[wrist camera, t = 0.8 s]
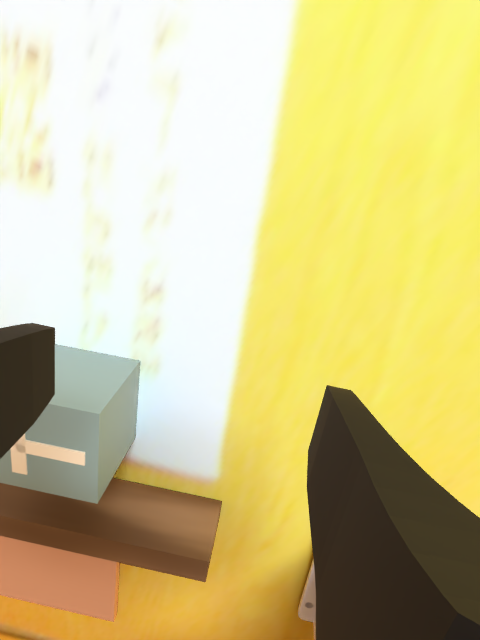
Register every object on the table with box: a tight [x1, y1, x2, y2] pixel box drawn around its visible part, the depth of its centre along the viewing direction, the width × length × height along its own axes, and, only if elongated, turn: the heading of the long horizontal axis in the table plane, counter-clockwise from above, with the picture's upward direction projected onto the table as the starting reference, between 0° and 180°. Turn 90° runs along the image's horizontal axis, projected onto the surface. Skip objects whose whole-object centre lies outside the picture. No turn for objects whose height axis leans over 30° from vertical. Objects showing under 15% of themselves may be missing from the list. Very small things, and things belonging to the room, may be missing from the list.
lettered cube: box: [0, 344, 140, 504], centre depth 21 cm, size 5×5×5 cm
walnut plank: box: [0, 478, 222, 582], centre depth 24 cm, size 2×18×4 cm, turn 82°
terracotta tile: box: [0, 536, 120, 622], centre depth 28 cm, size 10×10×1 cm
